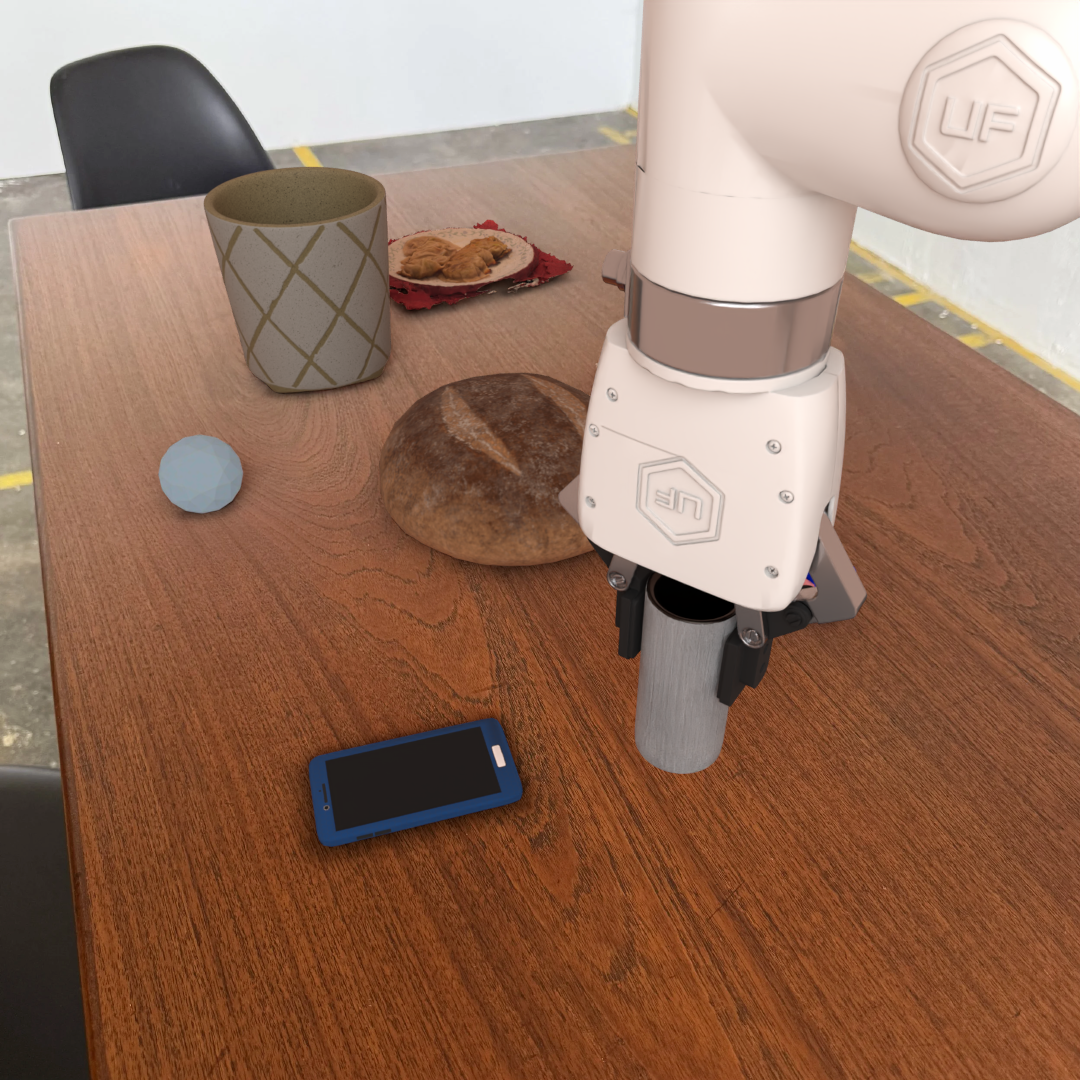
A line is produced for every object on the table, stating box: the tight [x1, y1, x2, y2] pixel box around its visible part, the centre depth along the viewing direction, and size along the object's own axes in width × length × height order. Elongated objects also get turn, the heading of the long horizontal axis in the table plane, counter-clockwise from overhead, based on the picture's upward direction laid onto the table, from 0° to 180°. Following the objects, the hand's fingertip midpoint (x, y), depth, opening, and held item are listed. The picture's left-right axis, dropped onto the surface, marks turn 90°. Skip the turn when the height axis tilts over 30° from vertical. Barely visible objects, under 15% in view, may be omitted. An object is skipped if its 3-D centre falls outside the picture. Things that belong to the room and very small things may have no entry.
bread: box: [378, 372, 595, 567], centre depth 91 cm, size 26×27×10 cm
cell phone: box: [308, 717, 524, 847], centre depth 67 cm, size 7×14×1 cm, turn 107°
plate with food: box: [388, 219, 574, 311], centre depth 137 cm, size 24×26×4 cm
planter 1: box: [203, 166, 392, 394], centre depth 109 cm, size 19×19×20 cm
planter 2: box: [634, 571, 737, 775], centre depth 47 cm, size 4×4×10 cm
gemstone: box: [157, 434, 244, 514], centre depth 93 cm, size 8×8×5 cm
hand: (687, 660), depth 46 cm, fingers closed on planter 2, 4 cm apart
